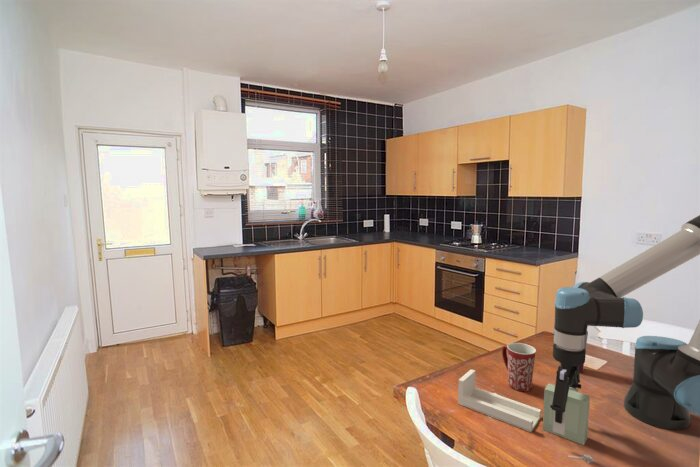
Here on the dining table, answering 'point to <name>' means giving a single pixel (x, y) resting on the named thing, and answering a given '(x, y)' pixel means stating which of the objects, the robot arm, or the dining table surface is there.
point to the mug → (519, 365)
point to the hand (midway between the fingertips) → (565, 420)
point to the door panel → (568, 414)
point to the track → (496, 404)
